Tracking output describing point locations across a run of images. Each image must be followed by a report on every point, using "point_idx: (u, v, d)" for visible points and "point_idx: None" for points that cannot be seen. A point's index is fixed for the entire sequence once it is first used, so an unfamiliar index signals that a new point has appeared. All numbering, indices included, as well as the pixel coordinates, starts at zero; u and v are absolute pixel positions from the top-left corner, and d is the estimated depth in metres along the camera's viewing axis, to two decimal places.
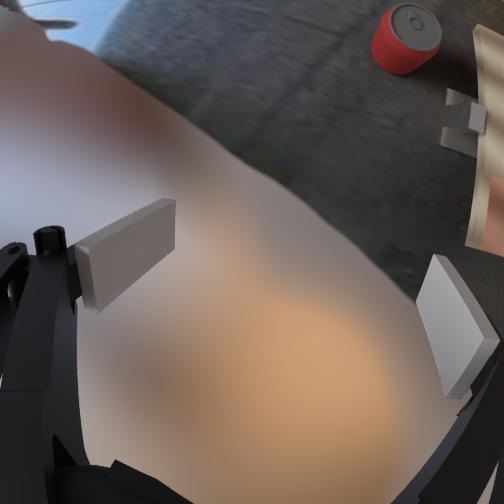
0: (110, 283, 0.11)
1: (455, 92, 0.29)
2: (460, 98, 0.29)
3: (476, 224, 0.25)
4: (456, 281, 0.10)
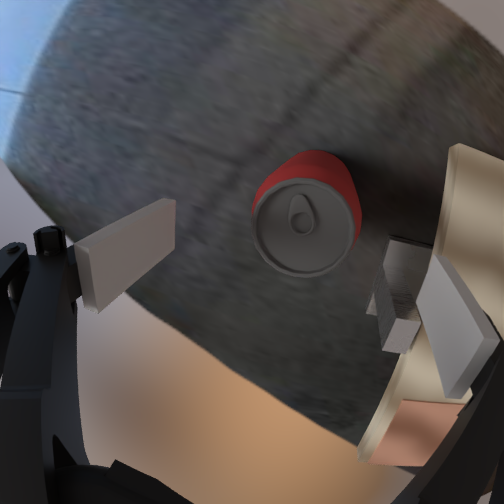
0: (110, 283, 0.11)
1: (401, 245, 0.25)
2: (408, 252, 0.25)
3: (367, 443, 0.22)
4: (456, 281, 0.10)
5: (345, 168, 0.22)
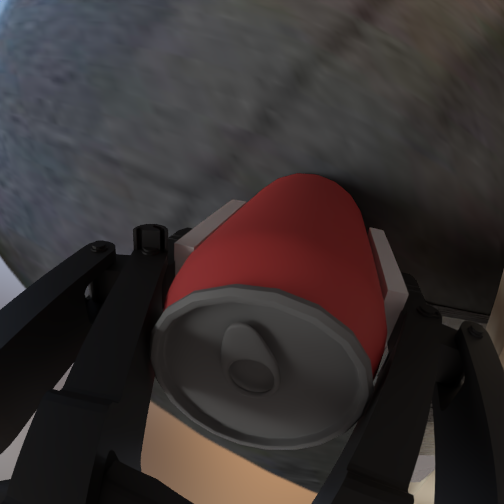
0: None
1: None
2: None
3: None
4: (381, 247, 0.12)
5: (354, 209, 0.13)
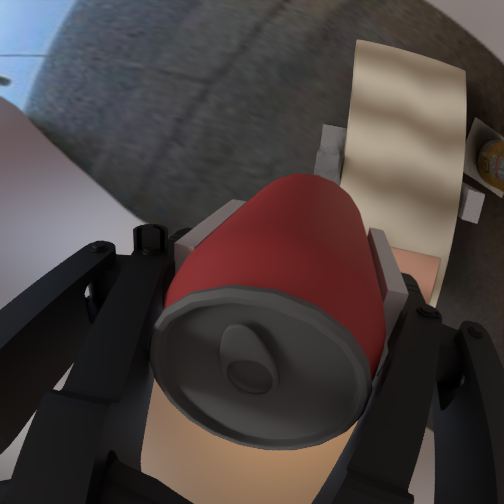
0: None
1: (333, 128, 0.32)
2: (340, 134, 0.32)
3: None
4: (381, 247, 0.12)
5: (354, 210, 0.13)
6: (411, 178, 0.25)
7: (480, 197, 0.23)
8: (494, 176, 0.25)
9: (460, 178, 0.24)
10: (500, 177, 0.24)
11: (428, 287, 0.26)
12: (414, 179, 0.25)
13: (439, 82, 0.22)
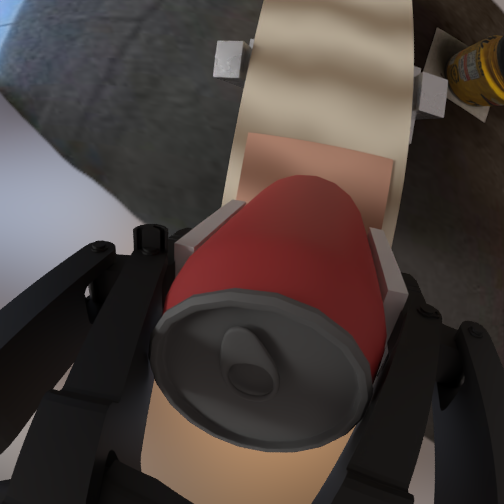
0: None
1: None
2: None
3: None
4: (381, 247, 0.12)
5: (354, 211, 0.13)
6: (340, 61, 0.18)
7: (441, 83, 0.16)
8: (466, 80, 0.18)
9: (411, 63, 0.17)
10: (471, 75, 0.17)
11: (379, 200, 0.19)
12: (345, 62, 0.18)
13: None
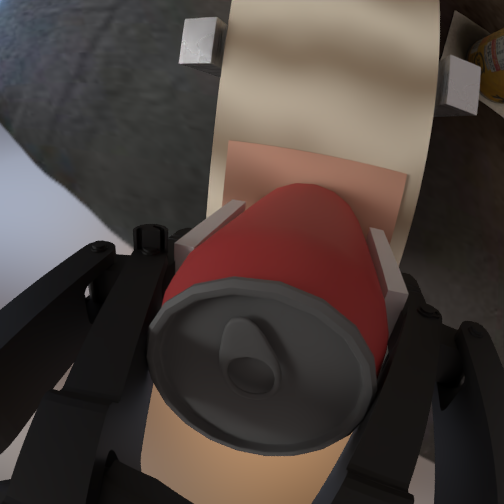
0: None
1: None
2: None
3: None
4: (381, 247, 0.12)
5: (353, 217, 0.13)
6: (343, 42, 0.13)
7: (473, 70, 0.11)
8: (494, 70, 0.13)
9: (436, 45, 0.12)
10: (502, 64, 0.12)
11: (387, 223, 0.16)
12: (349, 43, 0.13)
13: None
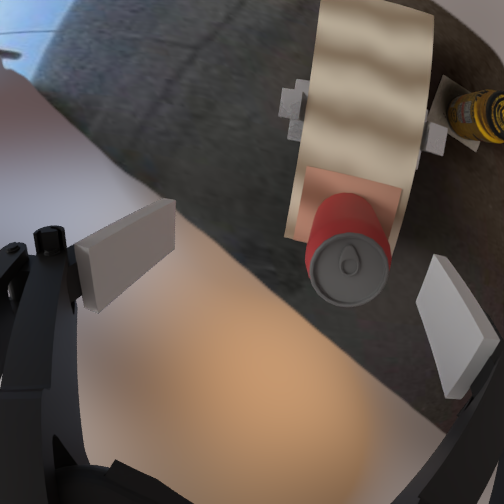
0: (110, 283, 0.11)
1: (305, 82, 0.33)
2: None
3: (288, 215, 0.33)
4: (456, 281, 0.10)
5: (374, 212, 0.26)
6: (372, 114, 0.26)
7: (443, 130, 0.24)
8: (462, 122, 0.27)
9: (423, 115, 0.25)
10: (466, 120, 0.25)
11: (390, 215, 0.29)
12: (375, 115, 0.26)
13: (404, 26, 0.21)
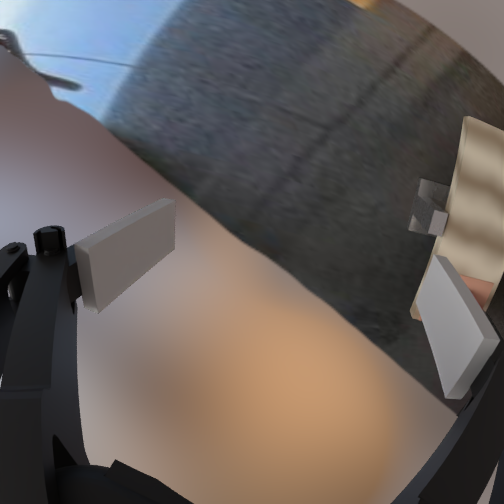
0: (110, 283, 0.11)
1: (428, 182, 0.38)
2: (432, 187, 0.38)
3: None
4: (456, 281, 0.10)
5: (481, 307, 0.31)
6: (487, 232, 0.31)
7: None
8: None
9: None
10: None
11: (483, 300, 0.34)
12: (488, 233, 0.31)
13: None
